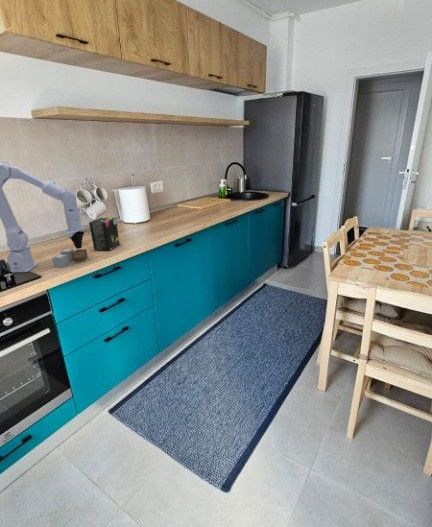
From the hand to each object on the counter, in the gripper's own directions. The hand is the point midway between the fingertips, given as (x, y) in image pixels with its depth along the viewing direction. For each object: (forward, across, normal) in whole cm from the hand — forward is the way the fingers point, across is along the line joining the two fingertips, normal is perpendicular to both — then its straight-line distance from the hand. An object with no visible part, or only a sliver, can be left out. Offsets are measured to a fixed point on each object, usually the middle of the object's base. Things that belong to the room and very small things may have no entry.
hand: (78, 248), depth 142 cm
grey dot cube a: (+6, +2, +6) cm, 9 cm away
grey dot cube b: (+6, -6, +6) cm, 11 cm away
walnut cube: (+6, 0, 0) cm, 6 cm away
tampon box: (+6, +18, -7) cm, 20 cm away
